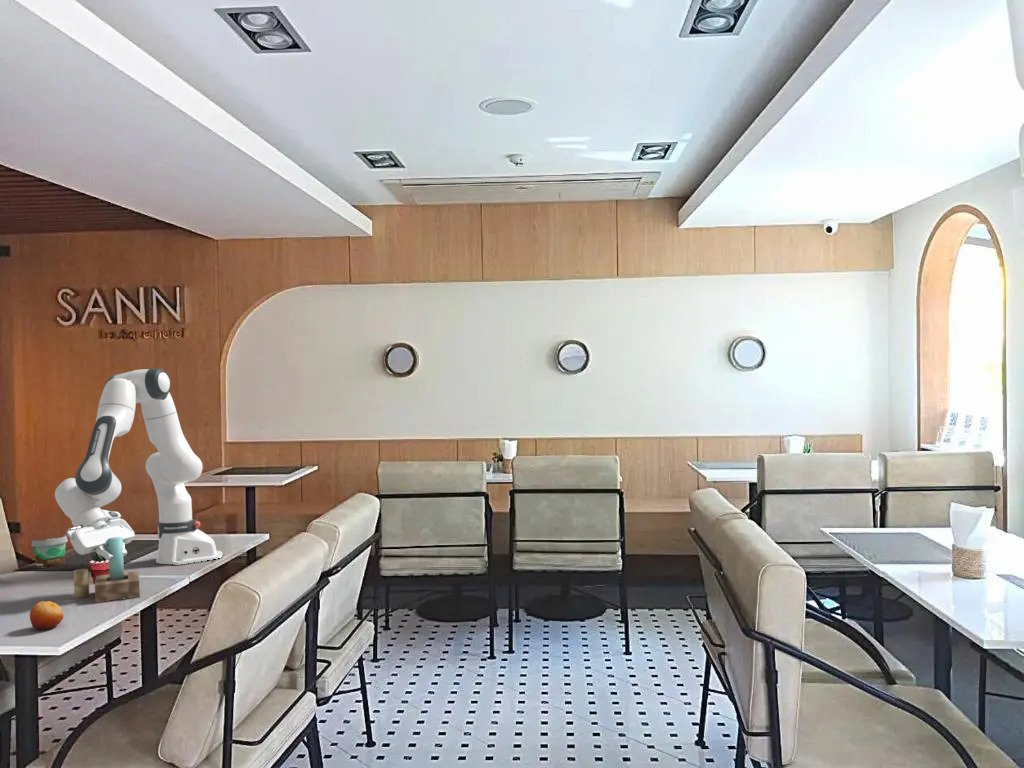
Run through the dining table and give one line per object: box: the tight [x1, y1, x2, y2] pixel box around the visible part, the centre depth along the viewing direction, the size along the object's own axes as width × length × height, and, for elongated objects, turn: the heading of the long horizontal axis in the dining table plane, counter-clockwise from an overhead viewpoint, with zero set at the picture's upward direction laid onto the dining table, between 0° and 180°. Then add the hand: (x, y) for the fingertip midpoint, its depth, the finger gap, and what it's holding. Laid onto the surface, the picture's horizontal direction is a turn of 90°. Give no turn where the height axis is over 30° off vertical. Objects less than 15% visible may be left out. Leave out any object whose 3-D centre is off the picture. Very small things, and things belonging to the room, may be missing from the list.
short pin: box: [73, 568, 90, 599], centre depth 266 cm, size 4×4×8 cm
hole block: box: [94, 570, 141, 604], centre depth 267 cm, size 12×14×5 cm
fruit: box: [29, 600, 64, 630], centre depth 234 cm, size 8×8×8 cm
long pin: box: [108, 537, 125, 581], centre depth 267 cm, size 4×4×13 cm
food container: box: [31, 533, 69, 568], centre depth 311 cm, size 12×6×10 cm, turn 148°
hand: (117, 556), depth 267 cm, fingers closed on long pin, 4 cm apart
